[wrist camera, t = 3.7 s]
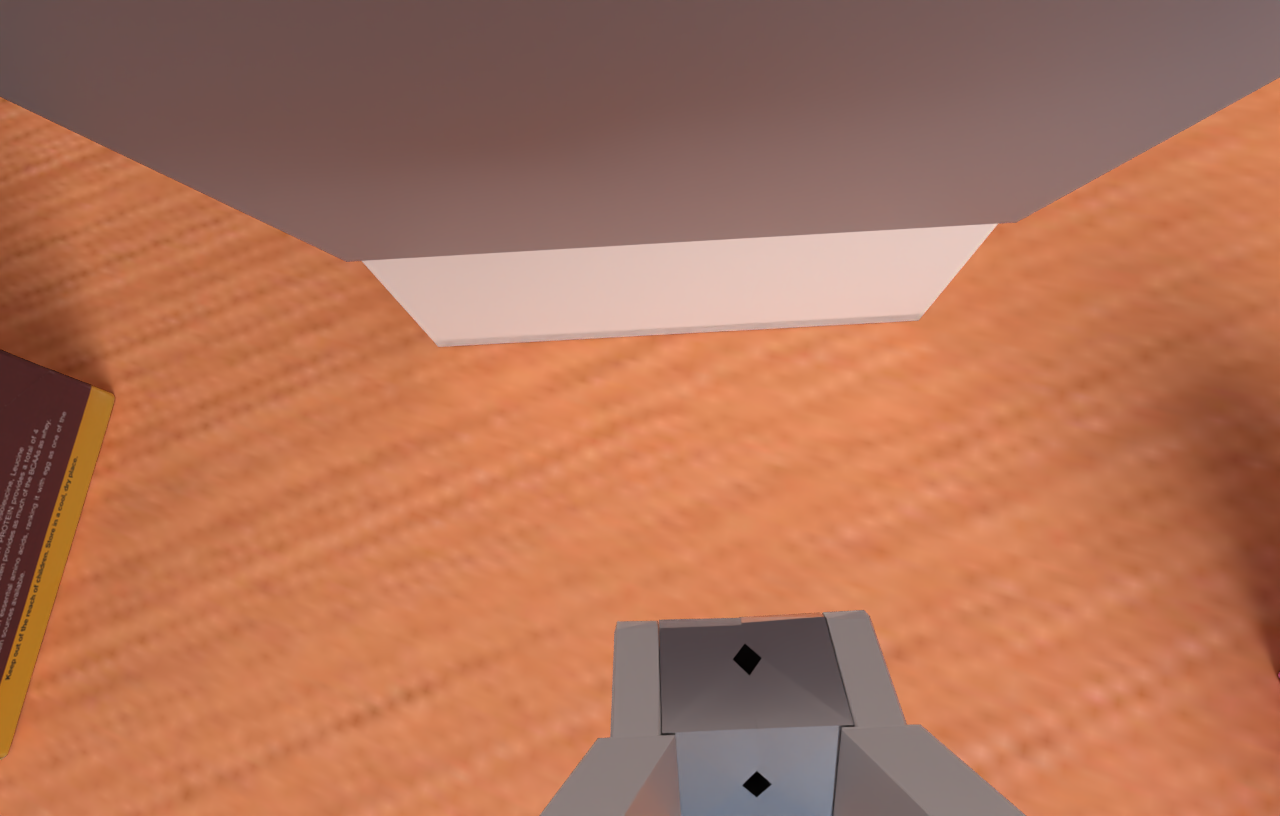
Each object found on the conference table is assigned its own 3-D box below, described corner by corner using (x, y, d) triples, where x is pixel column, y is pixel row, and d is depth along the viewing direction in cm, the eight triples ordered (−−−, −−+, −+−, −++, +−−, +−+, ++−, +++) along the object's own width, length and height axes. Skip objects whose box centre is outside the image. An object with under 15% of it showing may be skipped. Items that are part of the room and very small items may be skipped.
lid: (1015, 203, 25) (1016, 222, 25) (345, 242, 25) (346, 261, 25) (1659, -188, 9) (1661, -133, 9) (-204, -51, 9) (-203, -1, 9)
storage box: (918, 320, 35) (1012, 206, 25) (438, 346, 35) (348, 245, 26) (875, 9, 39) (941, -193, 29) (445, 38, 39) (369, -150, 30)
